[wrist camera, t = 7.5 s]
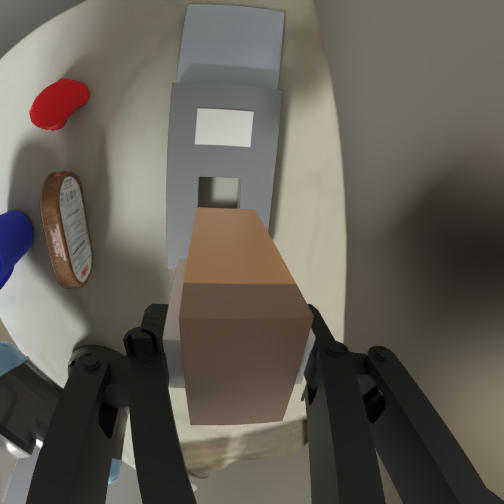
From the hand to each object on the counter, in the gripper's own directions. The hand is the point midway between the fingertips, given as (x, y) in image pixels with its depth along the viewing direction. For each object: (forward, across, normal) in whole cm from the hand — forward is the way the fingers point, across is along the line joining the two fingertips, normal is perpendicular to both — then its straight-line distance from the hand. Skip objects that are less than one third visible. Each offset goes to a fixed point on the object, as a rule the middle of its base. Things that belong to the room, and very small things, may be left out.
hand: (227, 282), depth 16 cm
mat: (+21, 0, +20) cm, 29 cm away
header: (+21, 0, +3) cm, 21 cm away
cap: (+21, -21, +13) cm, 32 cm away
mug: (+21, -32, -6) cm, 39 cm away
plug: (+5, 0, 0) cm, 5 cm away
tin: (+21, -19, -3) cm, 28 cm away
